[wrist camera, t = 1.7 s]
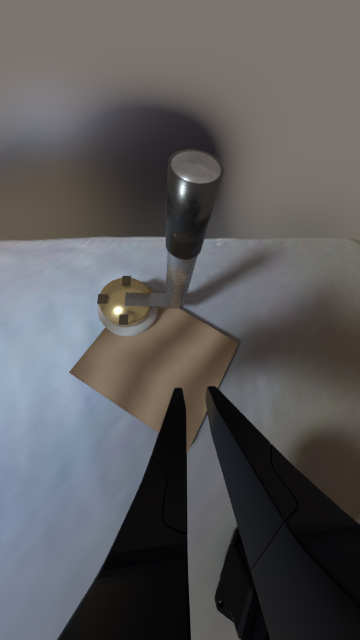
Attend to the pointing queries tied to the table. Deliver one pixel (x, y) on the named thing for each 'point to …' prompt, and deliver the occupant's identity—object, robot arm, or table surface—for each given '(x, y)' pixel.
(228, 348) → the brown wooden board
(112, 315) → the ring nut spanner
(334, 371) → the table surface
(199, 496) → the table surface
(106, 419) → the table surface
